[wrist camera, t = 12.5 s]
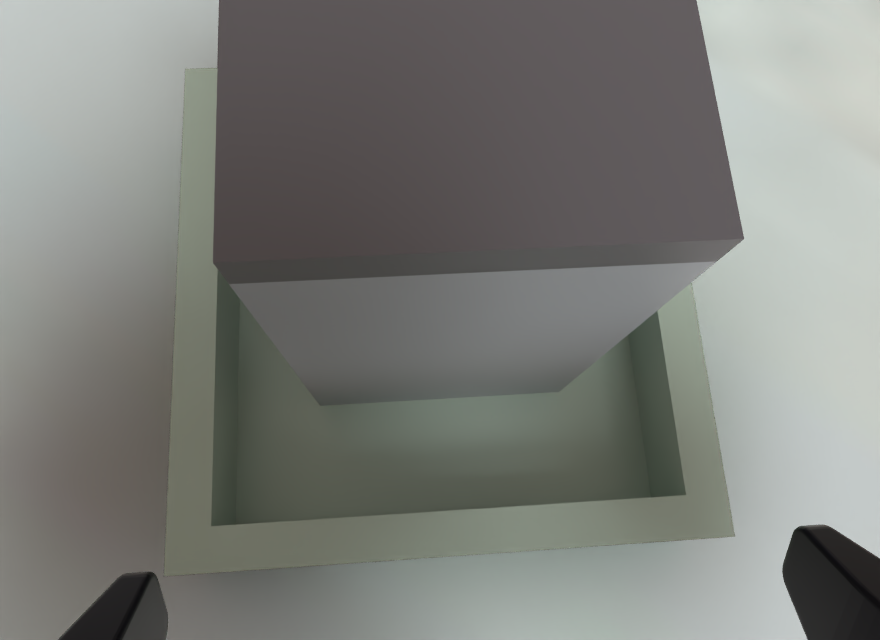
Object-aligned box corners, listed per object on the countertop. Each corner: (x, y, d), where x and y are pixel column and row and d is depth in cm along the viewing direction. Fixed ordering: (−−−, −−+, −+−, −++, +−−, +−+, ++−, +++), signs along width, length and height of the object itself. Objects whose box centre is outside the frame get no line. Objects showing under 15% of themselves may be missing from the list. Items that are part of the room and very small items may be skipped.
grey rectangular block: (558, 392, 19) (743, 238, 9) (320, 405, 19) (213, 263, 8) (536, 192, 21) (668, -138, 10) (316, 201, 21) (222, -135, 10)
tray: (685, 533, 19) (734, 536, 16) (201, 567, 18) (164, 576, 15) (621, 116, 23) (652, 57, 20) (214, 128, 22) (185, 69, 19)
